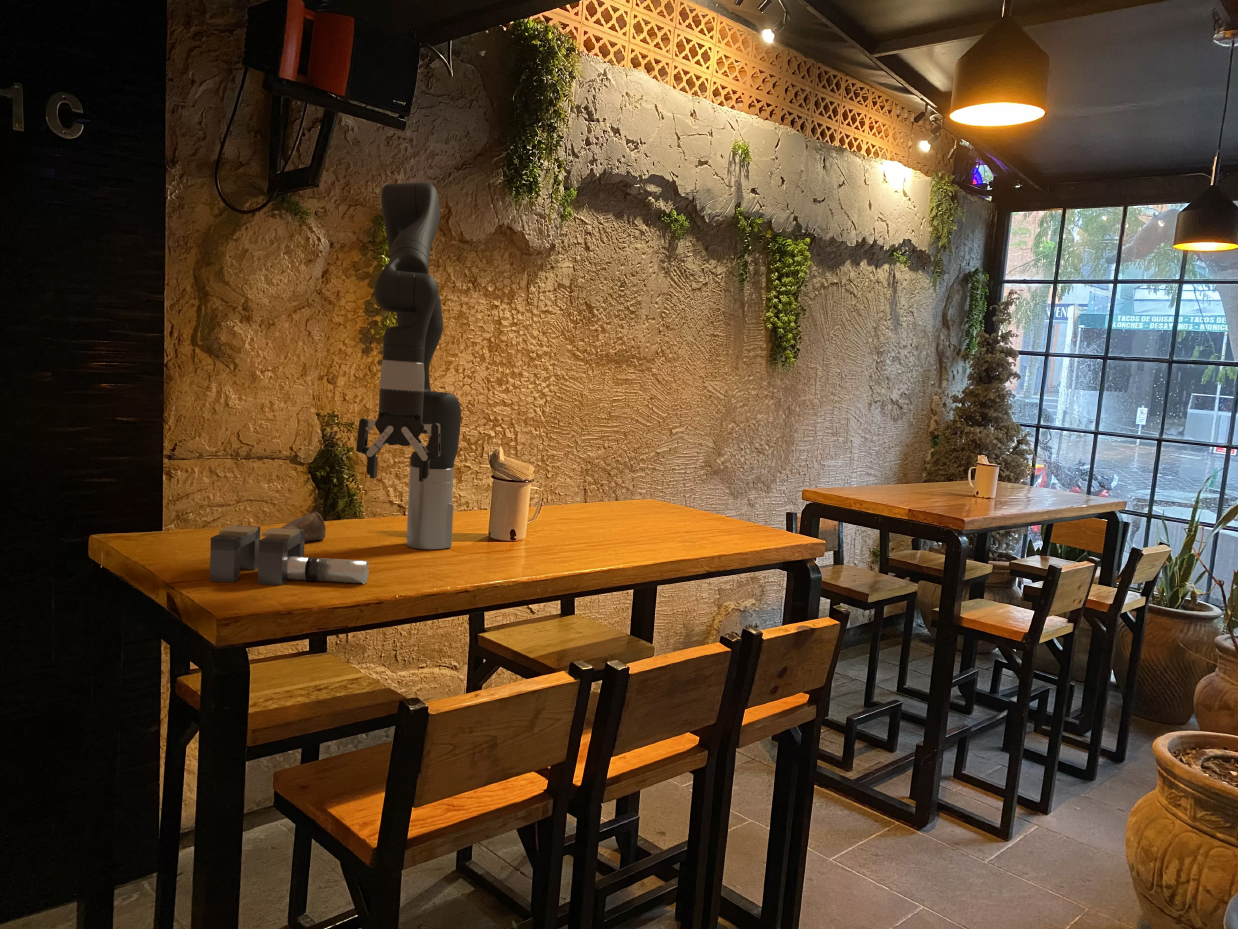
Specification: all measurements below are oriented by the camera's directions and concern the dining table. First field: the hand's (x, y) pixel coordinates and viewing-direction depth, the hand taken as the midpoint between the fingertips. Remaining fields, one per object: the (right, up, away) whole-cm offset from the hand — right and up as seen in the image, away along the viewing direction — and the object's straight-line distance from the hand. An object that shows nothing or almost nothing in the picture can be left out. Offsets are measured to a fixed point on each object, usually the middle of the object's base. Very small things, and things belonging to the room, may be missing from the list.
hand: (397, 479), depth 155 cm
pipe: (-27, -15, +27) cm, 40 cm away
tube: (-15, -17, +1) cm, 22 cm away
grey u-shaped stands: (-25, -17, 0) cm, 30 cm away
